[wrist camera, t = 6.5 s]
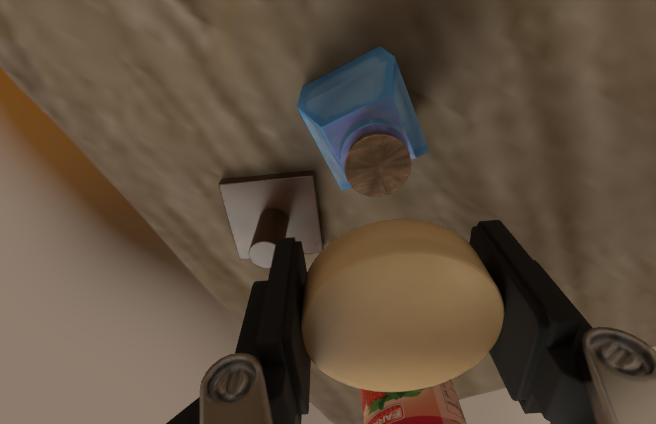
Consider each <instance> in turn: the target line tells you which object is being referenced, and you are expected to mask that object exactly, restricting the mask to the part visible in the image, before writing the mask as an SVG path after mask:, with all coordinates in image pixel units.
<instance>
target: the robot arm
mask: <svg viewBox="0 0 656 424" xmlns="http://www.w3.org/2000/svg"><path fill="white" fill-rule="evenodd" d="M470 245H471V246H472V248H473V249H474V250H475V252H476V253H477V255H478V256H479V258H480V259H481V261H482V263H483V264H484V266H485V267H486V269H487V271H488V272H489V274H490V276H491V277H492V279H493V280H494V282H495V284H496V285H497V287H498V289H499V291H500V293H501V295H502V299H503V303H504V319H503V324H502V328H501V332H500V335H499V337H498V339H497V341H496V343H495V344H494V346H493V347H492V349H491V350H490V351H489V353H490V355H491V357H492V359H493V361H494V363H495V365H496V367H497V369H498V371H499V374H500V376H501V378H502V380H503V382H504V384H505V386H506V388H507V390H508V392H509V394H510V396H511V398H512V399H513V400H515V401H519V403H520V405H521V407H522V409H523V411H524V412H525V414H527V413H542V414H543V416H544V418H545V419H546V420H548V421H550V422H551V424H656V351H655V350H654V349H653V348H651V347H650V346H649V345H648V344H647V343H646V342H644V341H642V340H641V339H639V338H637V337H636V336H634V335H632V334H629V333H627V332H624V331H622V330H618V329H613V328H608V327H597V328H592V327H591V325H590V324H589V323H588V322H587V321H586V319H585V318H584V317H583V316H582V315H581V314H580V312H579V311H578V310H577V309H576V308H575V306H574V305H573V304H572V303H571V302H570V300H569V299H568V298H567V297H566V296H565V294H564V293H563V292H562V291H561V290H560V288H559V287H558V286H557V285H556V284H555V282H554V281H553V280H552V279H551V278H550V276H549V275H548V274H547V273H546V272H545V271H544V269H543V268H542V267H541V266H540V265H539V264H538V263H537V262H536V261H535V260H532V258H531V257H530V256H529V255H528V254H527V252H526V251H525V250H524V249H523V247H522V246H521V245H520V244H519V243H518V241H517V240H516V239H515V238H514V237H513V235H512V234H511V233H510V232H509V231H508V229H507V228H506V227H505V226H504V224H503V223H502V222H501V221H500V220H491V221H480V222H479V223H478V224H477V226H474V227H473V228H472V231H471V238H470ZM306 275H307V270H306V264H305V258H304V252H303V246H302V242H301V241H297V242H296V240H295V238H294V237H290V238H279V239H277V240H276V245H275V250H274V255H273V259H272V264H271V269H270V274H269V279H268V281H256V282H254V284H253V286H252V290H251V294H250V298H249V301H248V305H247V309H246V313H245V317H244V321H243V325H242V328H241V332H240V336H239V340H238V344H237V348H236V352H235V354H230V355H228V356H226V357H223V358H221V359H220V360H218V361H217V362H216V363H214V364H213V365H212V366H211V367H210V368H209V369H208V371H207V372H206V373H205V376H204V377H203V379H202V381H201V386H200V397H199V398H198V399H196V400H195V401H194V402H193V403H191V404H190V405H189V406H188V407H186V408H185V409H184V410H183V411H181V412H180V413H179V414H178V415H176V416H175V417H174V418H173V419H171V420H170V421H169V422H168V423H167V424H301V415H302V414H308V411H309V390H310V365H311V359H310V357H309V356H308V354H307V352H306V350H305V346H304V341H303V336H302V330H301V312H302V299H303V286H304V282H305V278H306Z"/></svg>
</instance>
